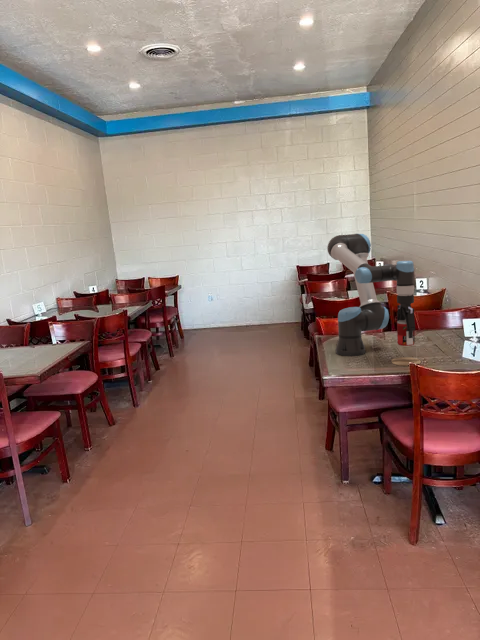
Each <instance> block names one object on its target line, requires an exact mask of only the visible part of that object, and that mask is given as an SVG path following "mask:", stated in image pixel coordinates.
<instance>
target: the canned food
mask: <svg viewBox="0 0 480 640" xmlns="http://www.w3.org/2000/svg"><path fill="white" fill-rule="evenodd" d="M406 330H407V324H406V319H405V320H399V321H397V320H396V336H397V337H396V338H397V339H396V340H397V341H396V342H397V344H398V345H399V346H404V347H410V346H414V345H415V342H416V341H415V335H416V334H415V333H416V332H415V331H416V329H415V330H414V331H413V345H407V334H406Z"/></svg>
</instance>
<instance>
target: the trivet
mask: <svg viewBox="0 0 480 640" xmlns="http://www.w3.org/2000/svg"><path fill="white" fill-rule="evenodd" d="M409 362H414V363H416V364H419V365H421V363H422V362H421V359H419V358H416V357H410V356H401V357H400V356H399V357H394V358H392V359H391V364H393V365H395V366H401V367H409V366H408V363H409Z"/></svg>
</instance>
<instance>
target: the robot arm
mask: <svg viewBox="0 0 480 640" xmlns="http://www.w3.org/2000/svg"><path fill="white" fill-rule="evenodd" d="M326 247H327V248H326V249H327V253H328V255H329V256H330V257H331V259H333V260H335V261H339V262H340V263H341V264H343V265H344V266H345V267H346V268H347V269H348V270H350V271H351V272H353V277H354V282H355V286H356V288H357V292H358V297H359V298H358V299H359V302H360V305H359V306H350V307H346V308H343V309H341V310H339V312H338V314H337V323H338V324H337V325H338V340H337V344H336V345H335V346H336V347H335V354H337V355H339V356H344V357H346V356H347V357H353V356H354V357H356V356H361V355H364V354H366V347H365V343H364V341H363V339H362V338H363V337H362V332H368V331H369V332H371V331H378V330H383V329H384V328H386V327H387V326H388V325H389V324H388V323H389V319H390V314H389V313H390V312H389V309H388V308H387V307H385V306H383V305H382V302H381V301H379V300H378V298H377V293H376V290H375V286H374V283H381V282H390V281H395V282H396V302H397V303H396V304H398V305H397V313H396V317H397V318H396V322H397V321H399V320H406V324H407V330H406V334H407V345H411V346H414V345H413V331H414V330H415V331H416V320H415V308H412V305H411V304H413V303H415V296H414V295H415V294H414V293H415V288H416V287H415V267H414V261H412V260H399V261H397V262H396V264H394V263H393V264H391V263H390V264H389V263H387V264H384V265H376V266H375V265H374V266H372V265H370V264H369V263H368V257H369V254H370V252H371V251H372V249H371V247H372V243H371V240H370V238H369V237H368V236H367V235H366V234H364V233H352V234H338V235H336V236H334V237H332V238H331V239H330V240H329V241H328V243H327V246H326Z"/></svg>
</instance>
